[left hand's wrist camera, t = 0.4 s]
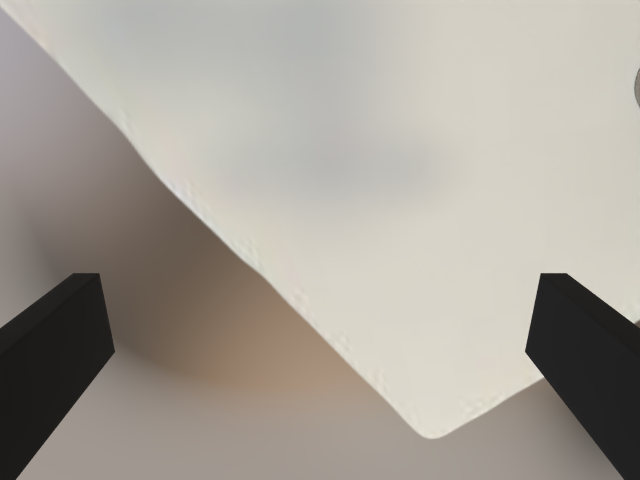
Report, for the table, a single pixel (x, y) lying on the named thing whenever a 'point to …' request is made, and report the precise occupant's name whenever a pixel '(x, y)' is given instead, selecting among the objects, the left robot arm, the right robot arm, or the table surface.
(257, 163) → the table surface
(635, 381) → the left robot arm
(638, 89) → the bottle
